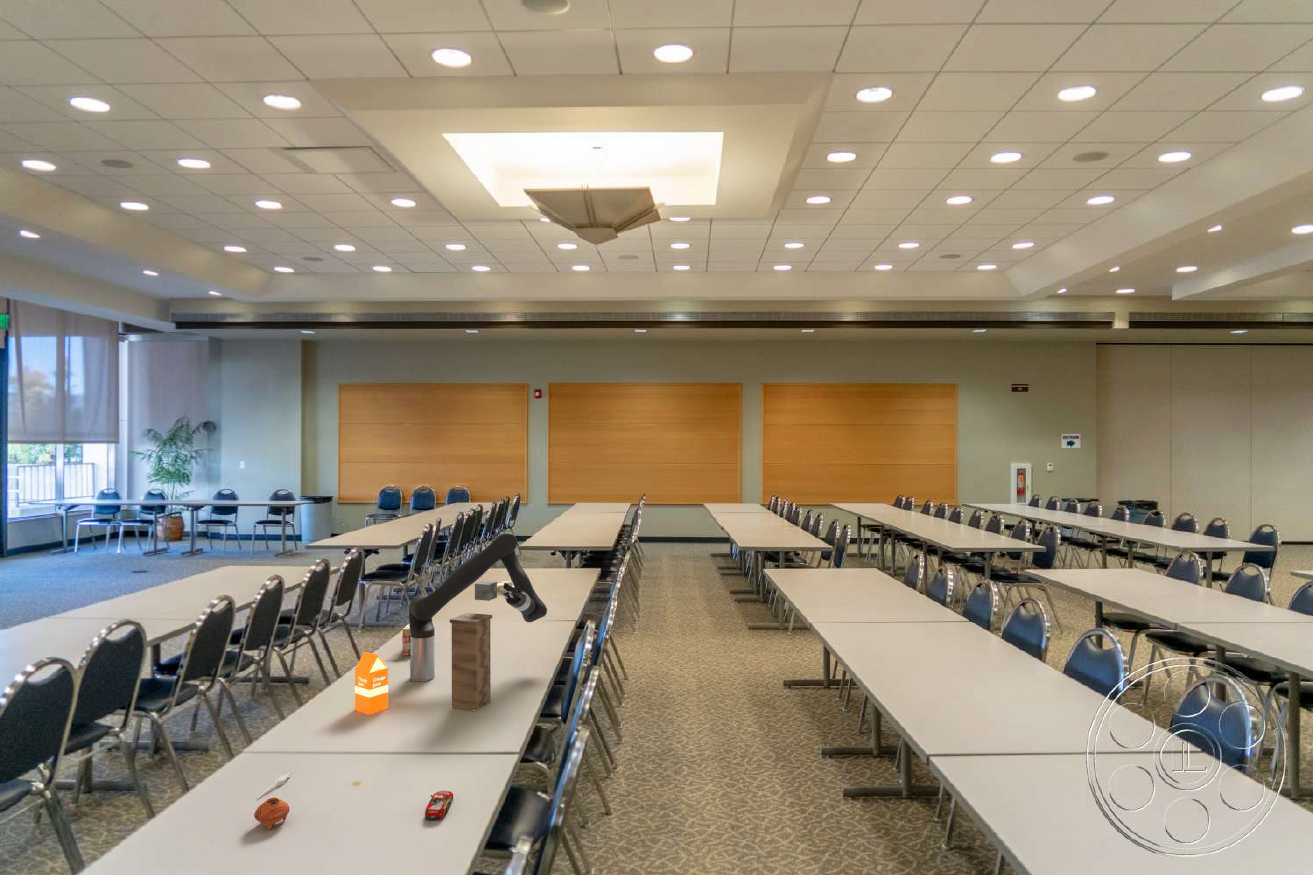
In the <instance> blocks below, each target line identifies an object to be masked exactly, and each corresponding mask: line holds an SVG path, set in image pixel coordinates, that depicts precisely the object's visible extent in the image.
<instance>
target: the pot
mask: <svg viewBox="0 0 1313 875" xmlns="http://www.w3.org/2000/svg"><path fill="white" fill-rule="evenodd" d="M290 810H291V809H290V806H289V804H288V803H287V802H286V801H284V800H283V799H279V798H278V797H270V798H267V799H266V800H265V801H264V802H263V803H261V804H260V805H259V806H258V807H257V808H256V809H255V812H254V814H253V817H254V819H255V820H256V821H257V822H259V823H260V824H263V825H265V826H266V828H267V830H272V826H273V824H276V823H279V822H280V821H283V822H286V820H287V816H288V814H289V813H290Z"/></svg>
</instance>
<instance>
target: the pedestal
mask: <svg viewBox="0 0 1313 875" xmlns="http://www.w3.org/2000/svg"><path fill="white" fill-rule="evenodd" d="M492 619H493V614H485V613H472V612H465V613H463V614H460V615H457V616H455V617H453V618H450V619H449V623H450V624H451V709H454V710H462V711H470V710H475V711H474V712H477V711H479V710H481V709H482V708H484V707H485V706H487V705H488V704H490V703H491V702H492V701H491V696H492V695H491V694H492V693H491V684H492V683H491V620H492ZM487 703H488V704H487ZM486 704H487V705H486ZM483 706H484V707H483Z"/></svg>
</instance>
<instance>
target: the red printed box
mask: <svg viewBox="0 0 1313 875" xmlns="http://www.w3.org/2000/svg"><path fill="white" fill-rule="evenodd" d="M401 641H402V650H401V651H402V655H411V631H410V626H409V623H408V624H407V625H405V627H404V628H402V640H401Z"/></svg>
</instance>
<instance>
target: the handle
mask: <svg viewBox="0 0 1313 875" xmlns="http://www.w3.org/2000/svg"><path fill="white" fill-rule="evenodd" d="M497 583H498V584H497ZM504 583H507V584H508V585H510V586H513V582H512V580H511V581H509V580H508V581H507V580H503V581H500V582H497V581H490V580H481V581H479V582H476V583H475V582H474V600H476V601H487V602H488V601H492V600H494V599H497V598H498V597H500V596H502V595H501V594H504V593H507V592H508V591H507V590H505V589H504V588H503V587H504Z"/></svg>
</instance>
